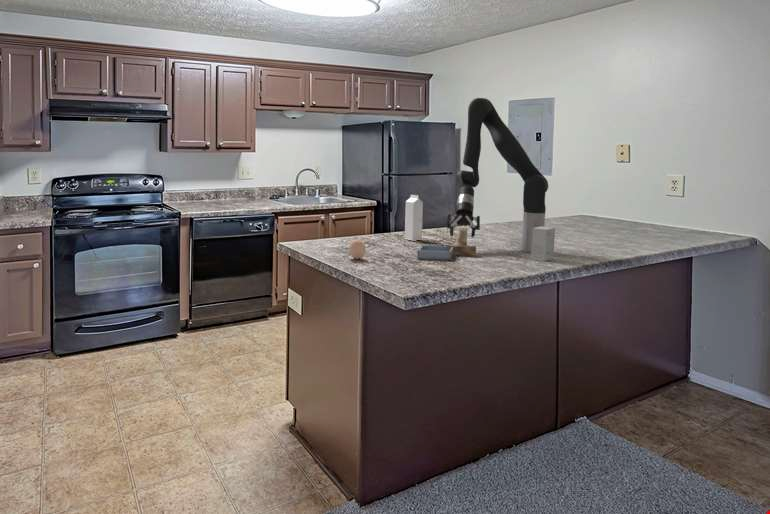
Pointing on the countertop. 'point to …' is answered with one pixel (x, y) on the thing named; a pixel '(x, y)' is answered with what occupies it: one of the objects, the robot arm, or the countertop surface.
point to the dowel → (462, 236)
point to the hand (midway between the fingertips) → (462, 235)
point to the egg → (357, 249)
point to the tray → (434, 252)
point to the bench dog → (462, 250)
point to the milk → (413, 218)
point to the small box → (543, 243)
